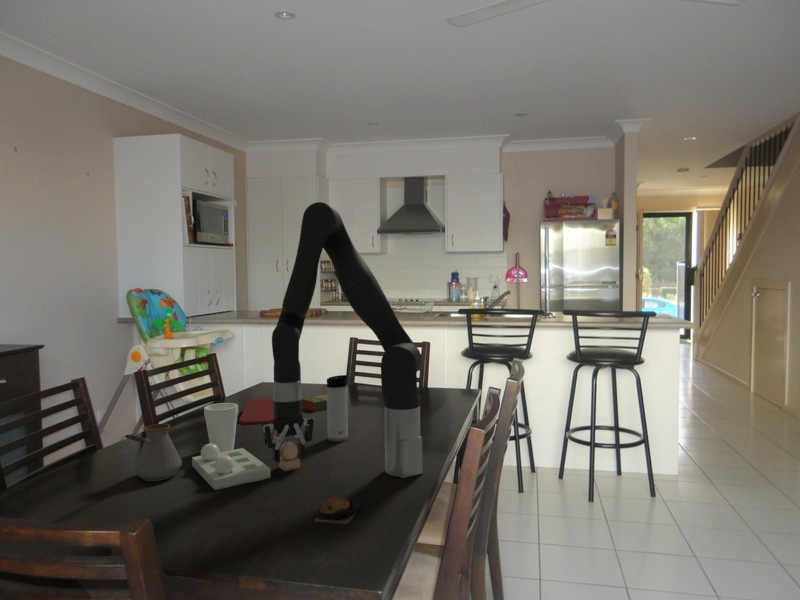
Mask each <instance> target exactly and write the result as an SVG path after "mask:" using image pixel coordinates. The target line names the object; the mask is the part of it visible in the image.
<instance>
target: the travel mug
mask: <svg viewBox="0 0 800 600" xmlns="http://www.w3.org/2000/svg"><path fill="white" fill-rule="evenodd" d="M348 378H349V375H348V374H342V375H341V374H340V375H333V376H330V377H328V378H326V394H327V409H326V410H327V411H326V412H327V413H326V416H327V418H326V419H327V420H326V421H327V441H329V442H332V443H340V442H341V443H342V442H345V441H347V440H348V439H349V434H348V433H349V431H348V429H349V428H348V427H349V426H348V425H349V423H348V418H349V417H348V385H347V384H348V380H347V379H348Z"/></svg>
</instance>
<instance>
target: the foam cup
mask: <svg viewBox="0 0 800 600" xmlns="http://www.w3.org/2000/svg"><path fill="white" fill-rule="evenodd" d="M203 412H204V413H203V414H204V417H205V419H204V420H205V424H206V425H205V426H206V431H207V435H208V436H207V437H208V442H209V443H213V444H215V445H217V446H218V448H219V451H220V452H224V451H229V450H235V449H234V447H235V441H236V440H235V439H236V432H237V431H236V430H237V429H236V428H237V422H238V414H239V405H238V404H237V403H233V402H220V403H212V404H208V405H206V406H204V407H203Z"/></svg>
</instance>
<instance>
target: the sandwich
mask: <svg viewBox="0 0 800 600" xmlns="http://www.w3.org/2000/svg"><path fill="white" fill-rule="evenodd" d="M358 503H359V502H356V500H355V499H350V500H348V499H346V498H344V497H339V496H337V497H334V496H333V497H330V498H328V499H326V500H325V502H324V503H323V504H322V506H321V508H320V509H319V508H318V510H316V515H315V516H316V518H315V519H314V522H315V523H326V524H327V523H329V524H330V523H331V524H343V525H346V524H349V523H350V521H351V520H352V519H353V518H354V517H355V515H356V513H357V512H358V510H359V509H360V504H358Z"/></svg>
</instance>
